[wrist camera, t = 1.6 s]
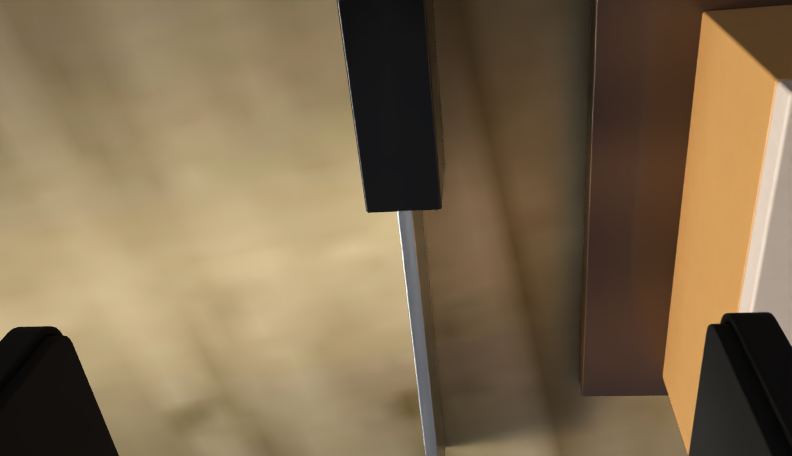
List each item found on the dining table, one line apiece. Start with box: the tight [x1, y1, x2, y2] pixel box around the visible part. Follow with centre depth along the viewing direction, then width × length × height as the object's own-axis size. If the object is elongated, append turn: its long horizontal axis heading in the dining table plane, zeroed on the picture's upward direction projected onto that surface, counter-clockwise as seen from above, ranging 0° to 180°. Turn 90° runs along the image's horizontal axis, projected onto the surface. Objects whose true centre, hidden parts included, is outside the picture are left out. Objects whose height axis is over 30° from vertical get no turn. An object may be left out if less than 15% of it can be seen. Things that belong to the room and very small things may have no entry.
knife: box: [337, 0, 445, 456], centre depth 25 cm, size 24×2×3 cm, turn 6°
